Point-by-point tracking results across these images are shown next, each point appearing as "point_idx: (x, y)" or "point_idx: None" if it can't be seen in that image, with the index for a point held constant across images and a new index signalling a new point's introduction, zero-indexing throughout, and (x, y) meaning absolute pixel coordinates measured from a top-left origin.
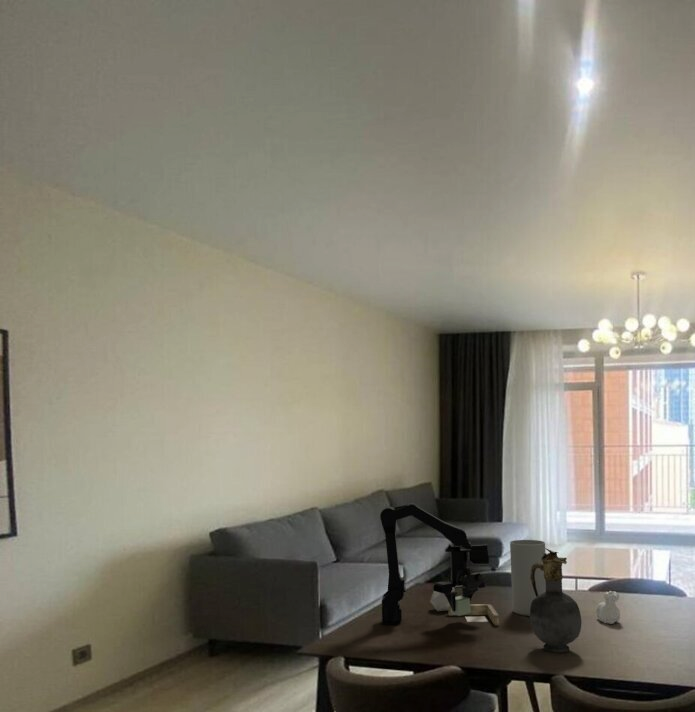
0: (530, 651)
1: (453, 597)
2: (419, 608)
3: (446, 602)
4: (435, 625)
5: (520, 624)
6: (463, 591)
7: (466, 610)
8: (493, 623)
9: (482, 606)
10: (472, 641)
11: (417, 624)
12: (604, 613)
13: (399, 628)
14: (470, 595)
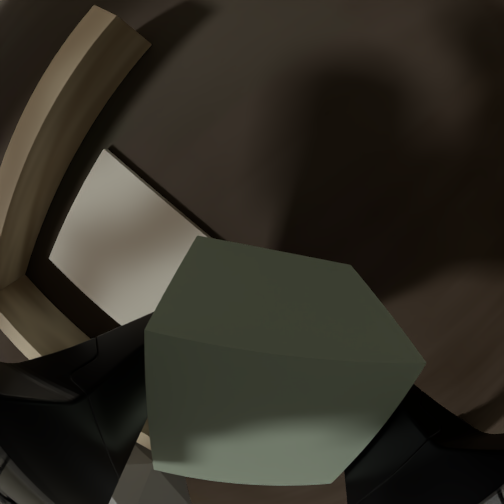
0: None
1: (462, 433)
2: (208, 493)
3: (149, 472)
4: (417, 340)
5: (45, 16)
6: (106, 494)
7: (255, 261)
8: (115, 87)
9: (11, 315)
10: (497, 3)
11: (433, 395)
12: None
13: (500, 380)
14: (69, 379)
